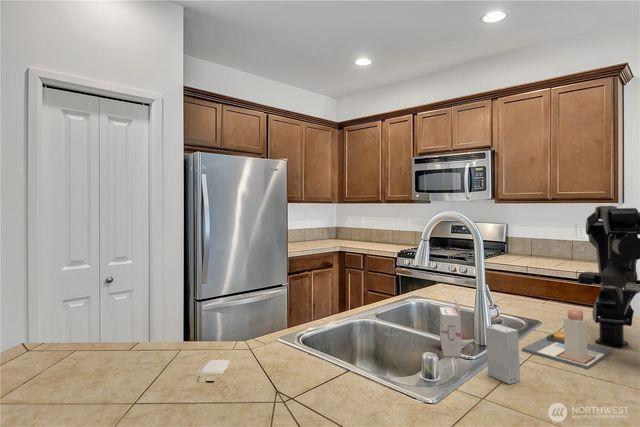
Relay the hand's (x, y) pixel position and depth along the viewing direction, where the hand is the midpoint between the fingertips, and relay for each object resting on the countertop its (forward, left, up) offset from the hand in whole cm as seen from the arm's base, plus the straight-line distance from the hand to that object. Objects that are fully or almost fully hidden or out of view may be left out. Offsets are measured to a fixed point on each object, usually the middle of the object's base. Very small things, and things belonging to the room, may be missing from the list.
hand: (622, 314), depth 100 cm
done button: (-1, -15, -11) cm, 19 cm away
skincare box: (+35, -14, -12) cm, 40 cm away
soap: (+89, -60, -13) cm, 108 cm away
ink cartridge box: (+30, -32, -12) cm, 46 cm away
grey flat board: (+5, -11, -12) cm, 17 cm away
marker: (+10, -7, -11) cm, 17 cm away
